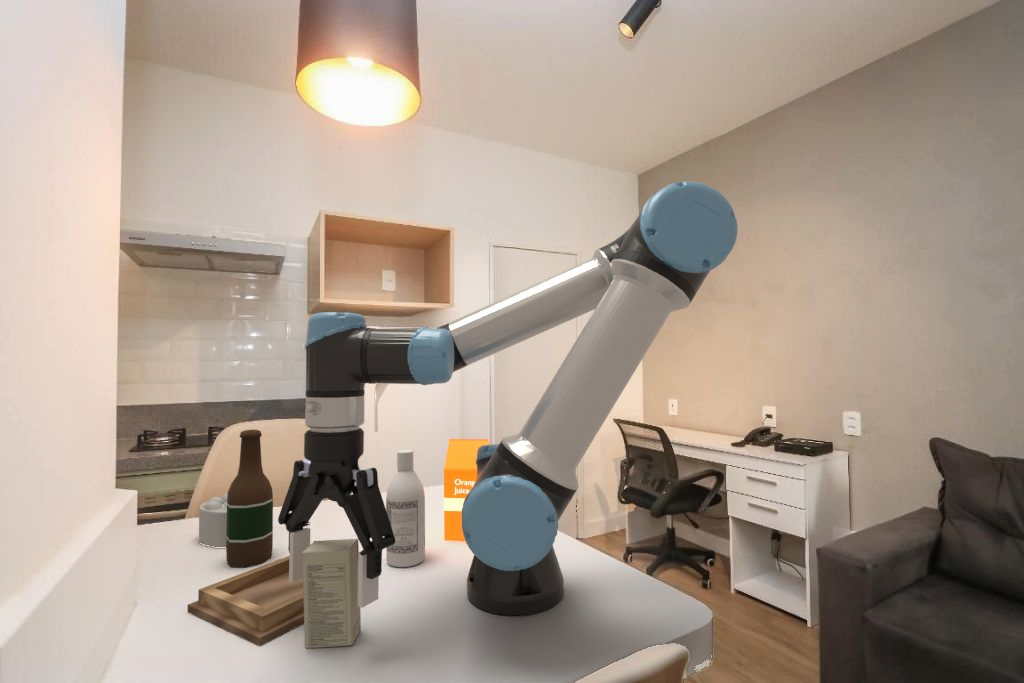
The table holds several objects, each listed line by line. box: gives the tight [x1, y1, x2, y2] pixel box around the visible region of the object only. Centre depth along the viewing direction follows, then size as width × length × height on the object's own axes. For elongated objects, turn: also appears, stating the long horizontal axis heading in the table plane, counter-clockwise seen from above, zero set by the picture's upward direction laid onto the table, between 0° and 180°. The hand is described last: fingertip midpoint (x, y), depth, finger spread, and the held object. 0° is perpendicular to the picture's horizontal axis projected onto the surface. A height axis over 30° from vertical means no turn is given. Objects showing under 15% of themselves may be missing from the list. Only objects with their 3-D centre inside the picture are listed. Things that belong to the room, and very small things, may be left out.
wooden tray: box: [187, 555, 304, 647], centre depth 76 cm, size 18×18×3 cm
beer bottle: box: [225, 429, 274, 568], centre depth 93 cm, size 8×8×24 cm
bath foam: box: [385, 449, 426, 568], centre depth 91 cm, size 7×7×20 cm
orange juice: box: [443, 438, 490, 542], centre depth 105 cm, size 8×9×20 cm
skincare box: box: [302, 538, 362, 649], centre depth 65 cm, size 6×4×12 cm
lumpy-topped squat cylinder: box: [198, 493, 228, 547], centre depth 105 cm, size 10×13×9 cm
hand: (331, 590), depth 65 cm, fingers open, 13 cm apart
